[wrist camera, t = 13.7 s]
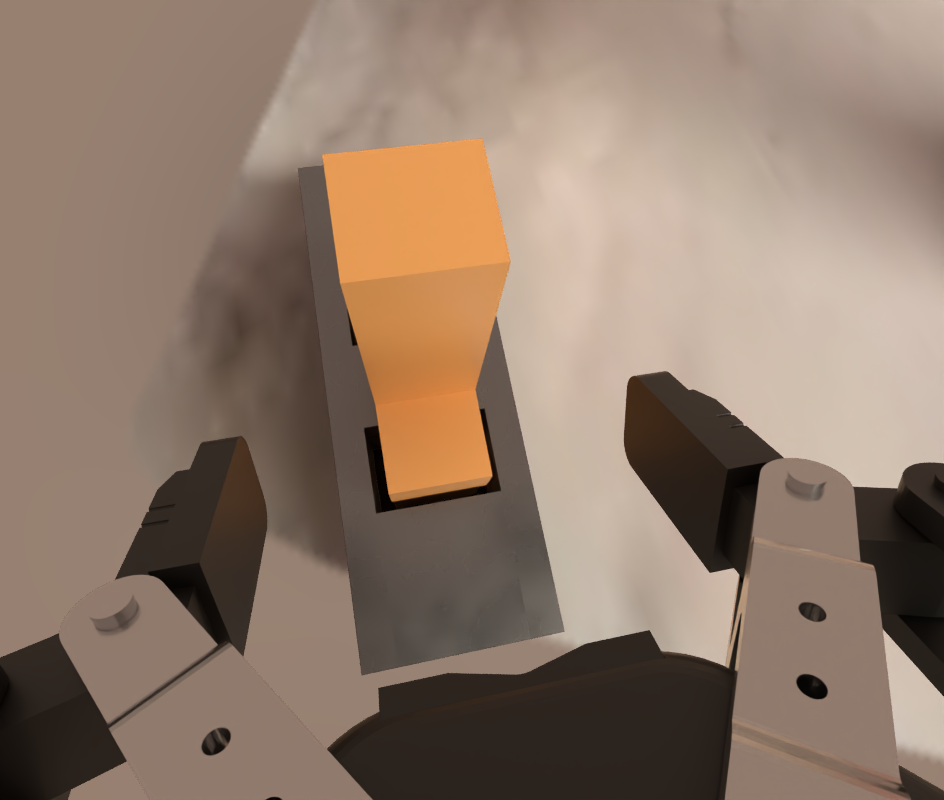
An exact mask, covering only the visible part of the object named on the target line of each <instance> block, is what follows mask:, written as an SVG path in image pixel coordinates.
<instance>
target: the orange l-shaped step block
mask: <svg viewBox="0 0 944 800" xmlns="http://www.w3.org/2000/svg"><path fill="white" fill-rule="evenodd" d="M322 156H323V163H324V171H325V178H326V185H327V192H328V199H329V206H330V214H331V221H332V228H333V235H334V242H335V250H336V257H337V264H338V271H339V278H340V285H341V288H342V291H343V295H344V298H345V302H346V305H347V309H348V312H349V316H350V319H351V322H352V326H353V329H354V333H355V336H356V340H357V343H358V347H359V350H360V354H361V357H362V360H363V364H364V367H365V371H366V374H367V378H368V381H369V385H370V388H371V391H372V395H373V398H374V402H375V405H376V412H377V419H378V426H379V432H380V439H381V446H382V453H383V459H384V466H385V473H386V480H387V486H388V493H389V496H390V498H391V501H392V502H393V501H394V503H395V506H396V508H402V507H408V506H413V505H419V504H425V503H430V502H436V501H441V500H447V499H452V498H458V497H463V496H469V495H475V493H476V492H477V490H478V489H479V487H480V486H483V485H487V483H488V482H489V480H490V479H491V478H492V471H491V465H490V460H489V455H488V450H487V445H486V440H485V435H484V430H483V425H482V420H481V415H480V410H479V405H478V400H477V395H476V390H475V389H476V386H477V382H478V378H479V375H480V371H481V368H482V364H483V360H484V357H485V353H486V349H487V346H488V342H489V339H490V335H491V331H492V328H493V324H494V320H495V317H496V313H497V309H498V306H499V302H500V299H501V295H502V291H503V288H504V284H505V280H506V277H507V273H508V270H509V266H510V262H511V261H510V256H509V252H508V248H507V243H506V239H505V235H504V230H503V226H502V222H501V217H500V213H499V209H498V204H497V200H496V195H495V191H494V187H493V182H492V178H491V174H490V169H489V165H488V161H487V156H486V152H485V147H484V143H483V139H472V140H462V141H452V142H442V143H432V144H423V145H413V146H403V147H393V148H383V149H373V150H363V151H353V152H344V153H334V154H324V155H322Z"/></svg>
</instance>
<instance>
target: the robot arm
mask: <svg viewBox="0 0 944 800" xmlns="http://www.w3.org/2000/svg"><path fill="white" fill-rule="evenodd" d="M624 447H625V452H626V456H627V459H628V461H629V463H630V465H631V467H632V468H633V470H634V471H635V472H636V474H637V475H638V476H639V478H640V479H641V480H642V482H643V483H644V484H645V486H646V487H647V488H648V490H649V491H650V493H651V494H652V495H653V497H654V498H655V499H656V501H657V502H658V503H659V505H660V506H661V507H662V509H663V510H664V511H665V513H666V514H667V516H668V517H669V518H670V520H671V521H672V522H673V524H674V525H675V526H676V528H677V529H678V530H679V532H680V533H681V534H682V536H683V537H684V539H685V540H686V541H687V543H688V544H689V545H690V547H691V548H692V549H693V551H694V552H695V553H696V555H697V556H698V557H699V559H700V560H701V562H702V563H703V564H704V566H705V567H706V568H707V570H708V571H709V572H710V573H712V572H716V571H721V570H726V569H731V568H734V569H735V570H736V571H737V572H738V574H739V578H738V583H737V588H736V595H735V602H734V608H733V615H732V622H731V629H730V636H729V643H728V650H727V657H726V664H725V666H723V665H720V664H718V663H715V662H712V661H709V660H706V659H703V658H700V657H695V656H691V655H687V654H681V653H674V652H663V651H661V650H660V648H659V647H658V645H657V643H656V641H655V639H654V638H653V636H652V634H651V632H650V630H648V631H644V632H639V633H634V634H629V635H625V636H620V637H615V638H611V639H606V640H601V641H597V642H592V643H587V644H584V645H582V646H580V647H578V648H576V649H574V650H572V651H570V652H568V653H566V654H564V655H562V656H560V657H558V658H556V659H554V660H552V661H550V662H548V663H546V664H544V665H542V666H540V667H538V668H536V669H534V670H532V671H530V672H527V673H524V674H519V675H504V674H503V675H501V674H460V673H447V674H442V675H437V676H433V677H428V678H423V679H419V680H414V681H410V682H405V683H400V684H395V685H390V686H386V687H381V688H378V689H379V710H380V712H378V713H376V714H374V715H372V716H370V717H368V718H366V719H365V720H363V721H362V722H360V723H358V724H357V725H355V726H354V727H352V728H351V729H349V730H348V731H347V732H346V733H344V734H343V735H342V736H341V737H339V738H338V739H337V740H336V741H335V742H334V743H333V744H332V745H331V746H330V747H328V748H327V749H326V748H325V747H324V746H323V745H322V743H321V742H320V741H319V740H318V739H317V738H316V737H315V736H314V735H313V733H312V732H311V731H310V730H309V729H308V728H307V727H306V726H305V725H304V724H303V722H302V721H301V720H300V719H299V718H298V717H297V716H296V715H295V714H294V712H293V711H292V710H291V709H290V708H289V707H288V706H287V705H286V704H285V703H284V701H282V699H281V698H280V697H279V696H278V695H277V694H276V693H275V691H274V690H273V689H272V688H271V687H270V686H269V685H268V684H267V683H266V682H265V680H263V678H262V677H261V676H260V675H259V674H258V673H257V672H256V671H255V669H254V668H253V667H252V666H251V665H250V664H249V663H248V662H247V661H246V660H245V658H244V657H243V655H244V650H245V645H246V639H247V633H248V628H249V623H250V617H251V612H252V607H253V601H254V595H255V590H256V585H257V579H258V574H259V569H260V564H261V558H262V552H263V547H264V542H265V537H266V531H267V510H266V504H265V499H264V496H263V493H262V490H261V486H260V483H259V480H258V477H257V474H256V470H255V467H254V464H253V461H252V458H251V454H250V451H249V448H248V445H247V443H246V441H245V439H244V438H243V437H242V436H239V437H233V438H226V439H220V440H213V441H207V442H202V443H201V444H200V446H199V449H198V451H197V453H196V456H195V458H194V461H193V463H192V465H191V468H190V469H189V470H183V471H177V472H176V473H175V474H174V475H172V476H171V477H170V478H169V479H168V480H167V481H166V482H165V483H164V484H163V485H162V486H161V487H160V488H159V489H158V490H157V492H156V494H155V496H154V498H153V501H152V503H151V505H150V507H149V512H147V513H146V515H145V518H144V520H143V522H142V524H141V525H142V528H139V530H138V532H137V534H136V536H135V539H134V541H133V543H132V545H131V547H130V549H129V551H128V553H127V555H126V558H125V560H124V562H123V564H122V566H121V568H120V570H119V572H118V574H117V577H116V579H115V580H114V581H112V582H109V583H106V584H105V585H103V586H101V587H99V588H97V589H95V590H94V591H92V592H90V593H89V594H88V595H86V596H85V597H84V598H82V599H81V600H80V601H79V602H78V603H77V604H76V605H75V606H74V607H73V608H72V609H71V610H70V611H69V612H68V614H67V615H66V617H65V618H64V620H63V622H62V624H61V627H60V631H59V634H56V635H54V636H52V637H50V638H47V639H45V640H42V641H40V642H37V643H35V644H33V645H30V646H28V647H25V648H23V649H20V650H18V651H15V652H13V653H10V654H8V655H6V656H3V657H1V658H0V800H68V797H69V794H70V791H71V789H73V788H75V787H77V786H79V785H81V784H83V783H85V782H87V781H89V780H91V779H93V778H95V777H97V776H98V775H101V774H103V773H104V772H106V771H109V770H111V769H113V768H114V767H116V766H118V765H120V764H122V763H124V762H126V761H127V762H128V764H129V765H130V767H131V769H132V771H133V772H134V774H135V776H136V778H137V779H138V781H139V783H140V785H141V786H142V788H143V790H144V792H145V793H146V795H147V797H148V798H149V800H944V791H943V790H941V789H940V788H938V787H936V786H934V785H933V784H931V783H929V782H928V781H926V780H924V779H922V778H921V777H919V776H917V775H915V774H914V773H912V772H910V771H908V770H907V769H905V768H903V767H902V766H900V765H898V758H897V749H896V741H895V732H894V723H893V715H892V706H891V698H890V689H889V680H888V672H887V663H886V654H885V646H884V637H883V630H884V631H885V632H886V633H887V634H888V635H889V636H890V637H891V638H892V640H893V641H894V642H895V643H896V644H897V645H898V646H899V647H900V648H901V650H902V651H903V652H904V653H905V654H906V655H907V656H908V657H909V658H910V660H911V661H912V662H913V663H914V664H915V665H916V666H917V667H918V668H919V670H920V671H921V672H922V673H923V674H924V675H925V676H926V677H927V678H928V680H929V681H930V682H931V683H932V684H933V685H934V686H935V687H936V688H937V690H938V691H939V692H940V693H941V694H942V695H943V696H944V464H943V463H919V464H914V465H912V466H909V467H908V468H906V469H905V471H904V472H903V475H902V478H901V480H900V483H899V486H898V489H896V488H870V487H853V486H852V484H851V483H850V481H849V480H848V479H847V478H846V477H845V476H844V475H842V474H841V473H839V472H838V471H836V470H835V469H833V468H831V467H829V466H826V465H824V464H821V463H818V462H815V461H811V460H806V459H799V458H783V457H782V456H781V455H780V454H779V453H778V452H776V451H775V450H774V449H773V448H772V447H771V446H769V445H768V444H767V443H766V442H765V441H764V440H762V439H761V438H760V437H759V436H758V435H757V434H755V433H754V432H753V431H752V430H751V429H750V428H749V427H747V426H744V425H743V422H742V421H740V420H739V419H738V418H737V417H736V416H735V415H731V412H730V411H729V410H728V409H726V408H725V407H724V406H723V405H722V404H721V403H719V402H718V401H717V400H716V399H714V398H712V397H709V396H707V395H705V394H702V393H700V392H698V391H696V390H688V389H687V388H686V387H684V386H683V385H682V384H681V383H680V382H679V381H678V380H677V379H676V378H674V377H673V376H672V375H671V374H670V373H669V372H666V371H663V372H657V373H651V374H644V375H638V376H632V377H631V378H630V379H629V381H628V385H627V397H626V412H625V428H624ZM882 628H883V629H882Z"/></svg>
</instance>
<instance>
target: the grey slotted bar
mask: <svg viewBox="0 0 944 800" xmlns="http://www.w3.org/2000/svg"><path fill="white" fill-rule="evenodd" d="M298 173H299V181H300V189H301V197H302V205H303V213H304V221H305V229H306V237H307V245H308V253H309V261H310V268H311V276H312V284H313V292H314V300H315V308H316V316H317V324H318V332H319V340H320V348H321V356H322V364H323V372H324V380H325V388H326V396H327V404H328V412H329V419H330V427H331V435H332V443H333V451H334V459H335V467H336V475H337V483H338V491H339V499H340V507H341V515H342V523H343V531H344V539H345V547H346V555H347V563H348V571H349V578H350V586H351V594H352V602H353V610H354V618H355V626H356V634H357V642H358V650H359V658H360V666H361V674H362V675H365V674H370V673H375V672H380V671H384V670H389V669H393V668H398V667H402V666H407V665H412V664H417V663H421V662H425V661H431V660H435V659H440V658H445V657H449V656H454V655H459V654H463V653H468V652H472V651H477V650H482V649H486V648H491V647H496V646H500V645H505V644H509V643H514V642H519V641H524V640H528V639H533V638H538V637H542V636H547V635H552V634H556V633H561V632H565V631H564V627H563V622H562V618H561V613H560V608H559V604H558V599H557V594H556V590H555V585H554V581H553V576H552V571H551V567H550V562H549V558H548V553H547V548H546V544H545V539H544V534H543V530H542V525H541V521H540V516H539V511H538V507H537V502H536V498H535V493H534V488H533V484H532V479H531V474H530V470H529V465H528V461H527V456H526V451H525V447H524V442H523V437H522V433H521V428H520V424H519V419H518V414H517V410H516V405H515V401H514V396H513V391H512V387H511V382H510V377H509V373H508V368H507V364H506V359H505V354H504V350H503V345H502V341H501V336H500V331H499V327H498V322H497V317H495V320H494V324H493V328H492V331H491V335H490V339H489V342H488V346H487V349H486V353H485V357H484V360H483V364H482V368H481V371H480V375H479V378H478V382H477V386H476V389H475V390H476V395H477V400H478V405H479V410H480V415H481V420H482V425H483V430H484V435H485V440H486V445H487V450H488V455H489V460H490V465H491V471H492V478H491V479H490V480H489V482H488V483H487V485H486V487H487V494H482V495H476V496H471V497H465V498H460V499H454V500H448V501H443V502H437V503H432V504H426V505H421V506H415V507H410V508H404V509H399V510H393V511H388V512H382V509H381V502H380V496H379V489H378V482H377V475H376V468H375V461H374V454H373V450H374V449H380V448H382V446H381V439H380V432H379V426H378V419H377V412H376V405H375V402H374V398H373V395H372V391H371V388H370V385H369V381H368V378H367V374H366V371H365V367H364V364H363V360H362V357H361V354H360V350H359V347H358V343H357V340H356V336H355V333H354V329H353V326H352V322H351V319H350V316H349V312H348V309H347V305H346V302H345V298H344V295H343V291H342V288H341V285H340V278H339V271H338V264H337V257H336V250H335V242H334V235H333V228H332V221H331V214H330V206H329V199H328V192H327V185H326V178H325V171H324V166H315V167H305V168H298Z"/></svg>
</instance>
